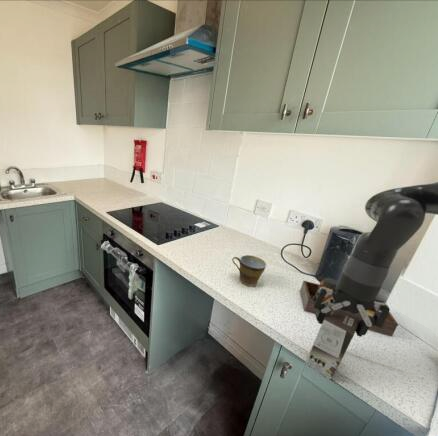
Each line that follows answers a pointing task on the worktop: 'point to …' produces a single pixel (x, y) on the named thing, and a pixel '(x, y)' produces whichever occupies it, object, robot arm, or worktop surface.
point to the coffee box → (332, 341)
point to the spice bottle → (328, 286)
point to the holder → (309, 292)
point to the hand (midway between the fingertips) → (338, 327)
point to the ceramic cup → (250, 269)
